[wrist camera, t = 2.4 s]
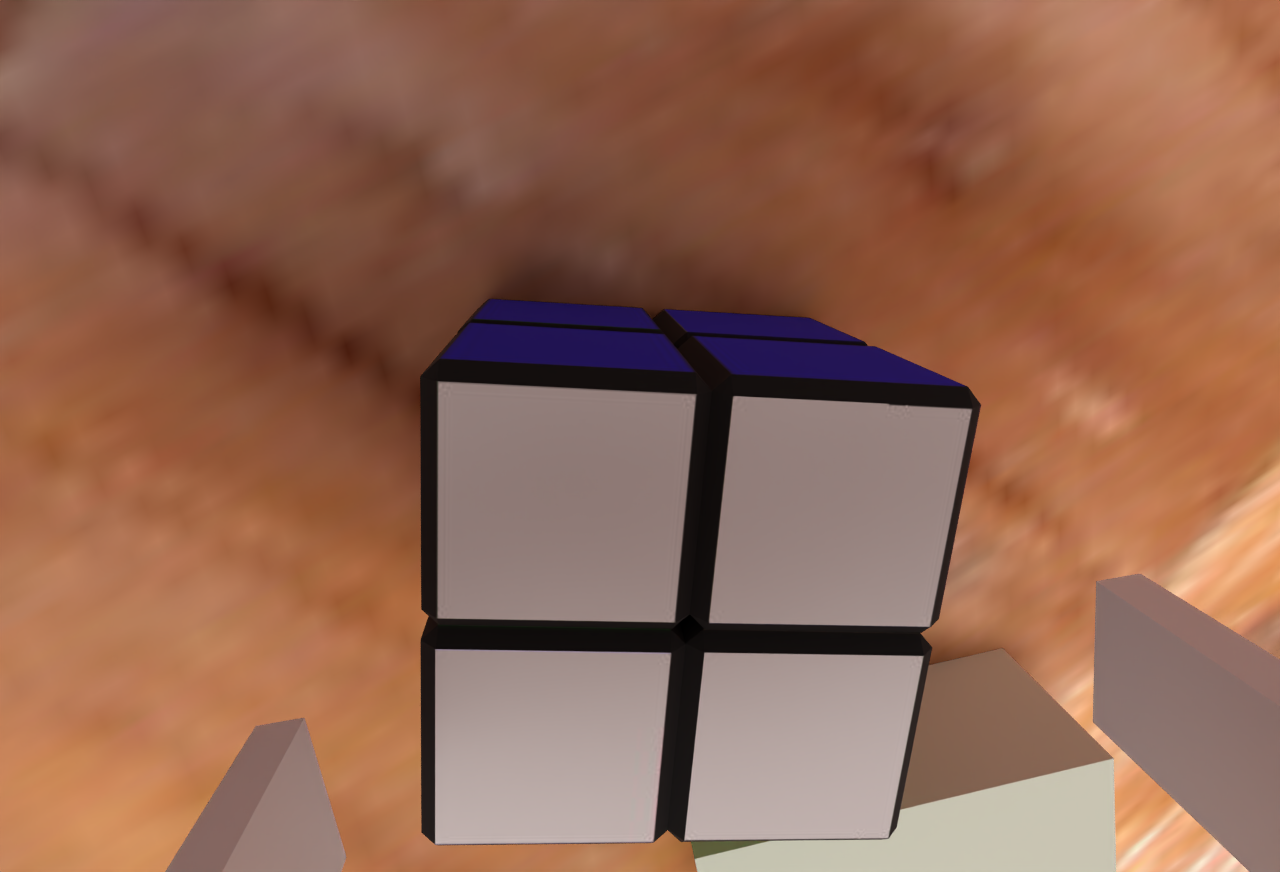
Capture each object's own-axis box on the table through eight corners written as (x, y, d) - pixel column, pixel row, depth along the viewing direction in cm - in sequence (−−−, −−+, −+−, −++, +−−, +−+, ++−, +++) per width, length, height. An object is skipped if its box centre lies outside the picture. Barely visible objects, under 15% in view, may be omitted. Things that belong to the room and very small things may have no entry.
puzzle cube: (817, 316, 23) (994, 390, 14) (778, 616, 26) (902, 851, 17) (478, 296, 22) (414, 361, 13) (474, 611, 25) (418, 860, 15)
